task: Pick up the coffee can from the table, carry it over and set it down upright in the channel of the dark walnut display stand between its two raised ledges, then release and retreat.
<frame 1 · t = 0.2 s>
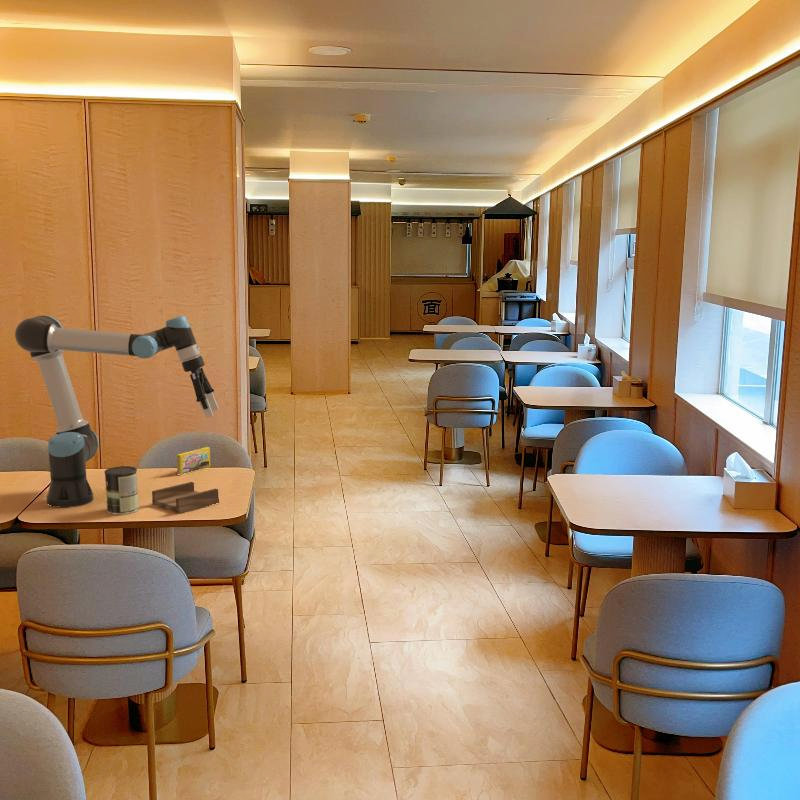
hand: (212, 413, 325), 28 cm above the table, tool tilted 20°, fingers open, 13 cm apart
coffee can: (123, 511, 303), on the table
candy box: (194, 471, 356), on the table
display stand: (185, 504, 309), on the table
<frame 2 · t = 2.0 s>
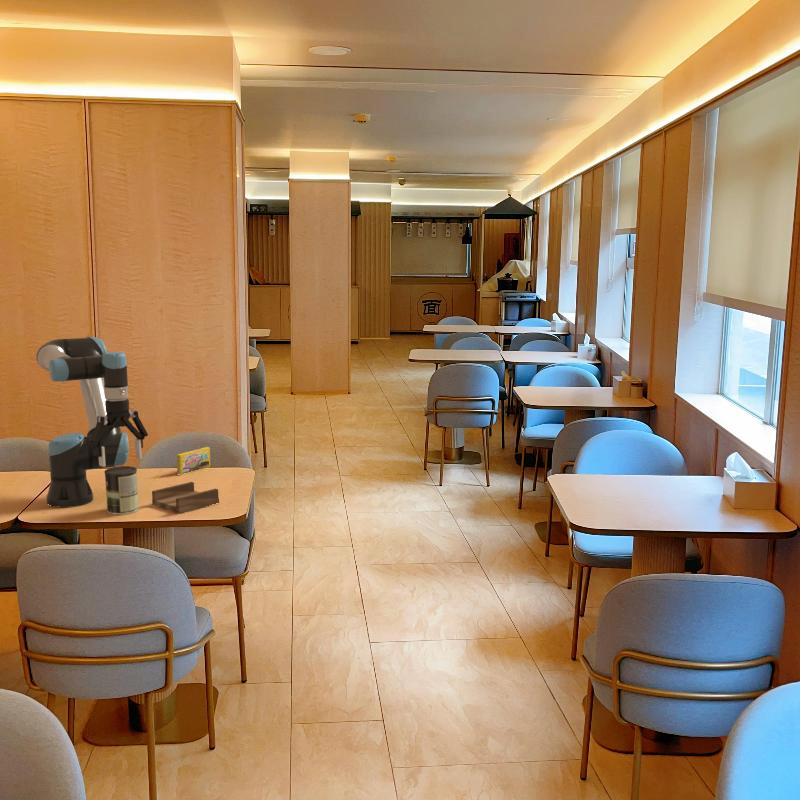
hand: (120, 462, 300), 17 cm above the table, tool pointing down, fingers open, 13 cm apart
nothing on the table moved.
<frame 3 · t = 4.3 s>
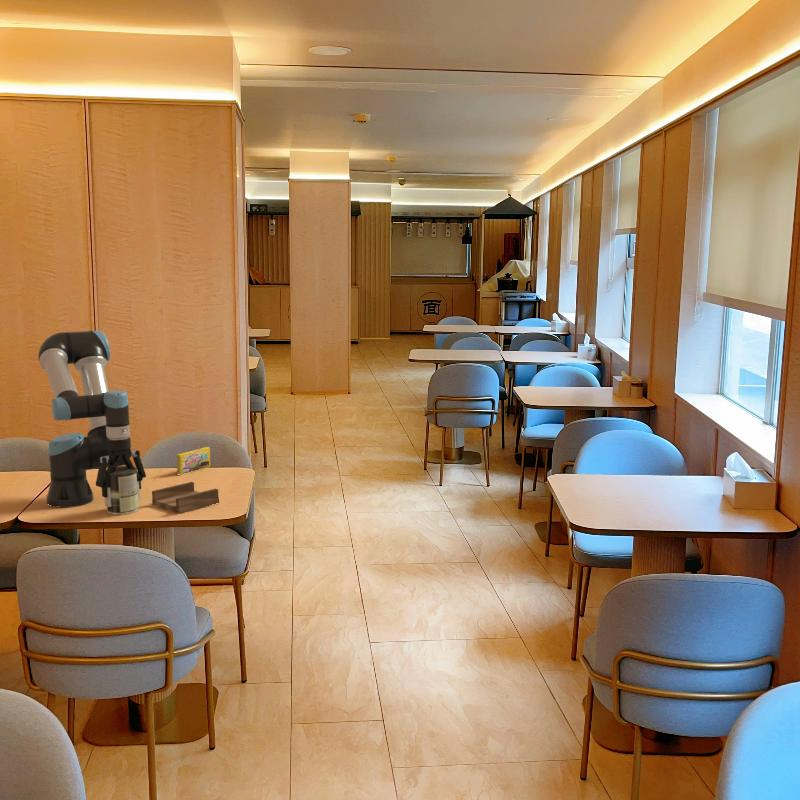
hand: (122, 502, 302), 3 cm above the table, tool pointing down, fingers closed on coffee can, 10 cm apart
coffee can: (123, 511, 303), on the table, touching gripper
everything else where it was.
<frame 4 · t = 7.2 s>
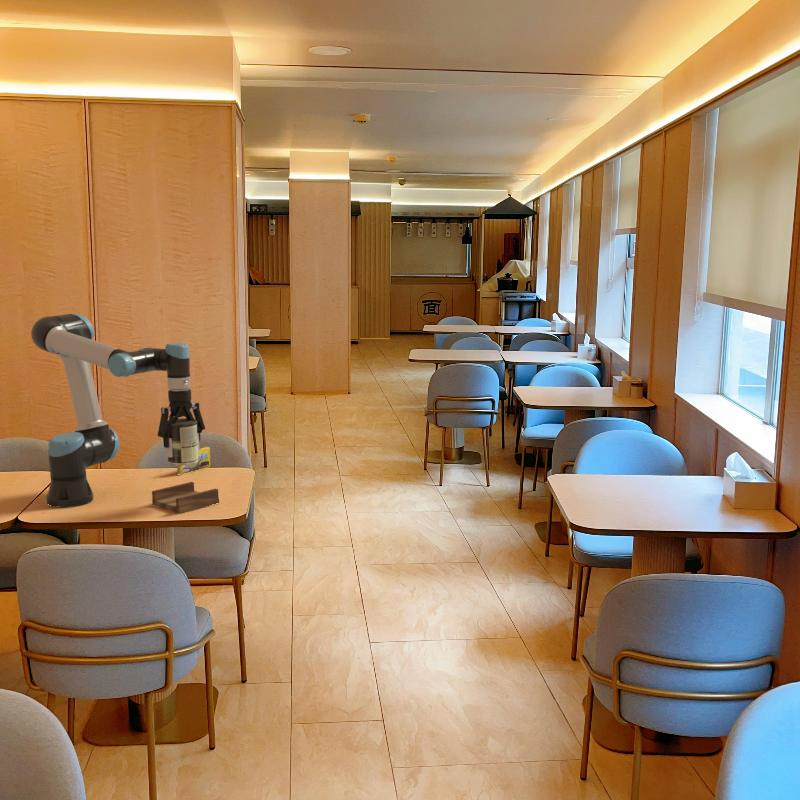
hand: (182, 453, 306), 18 cm above the table, tool pointing down, fingers closed on coffee can, 10 cm apart
coffee can: (183, 462, 307), point 15 cm above the table, touching gripper
everything else where it was.
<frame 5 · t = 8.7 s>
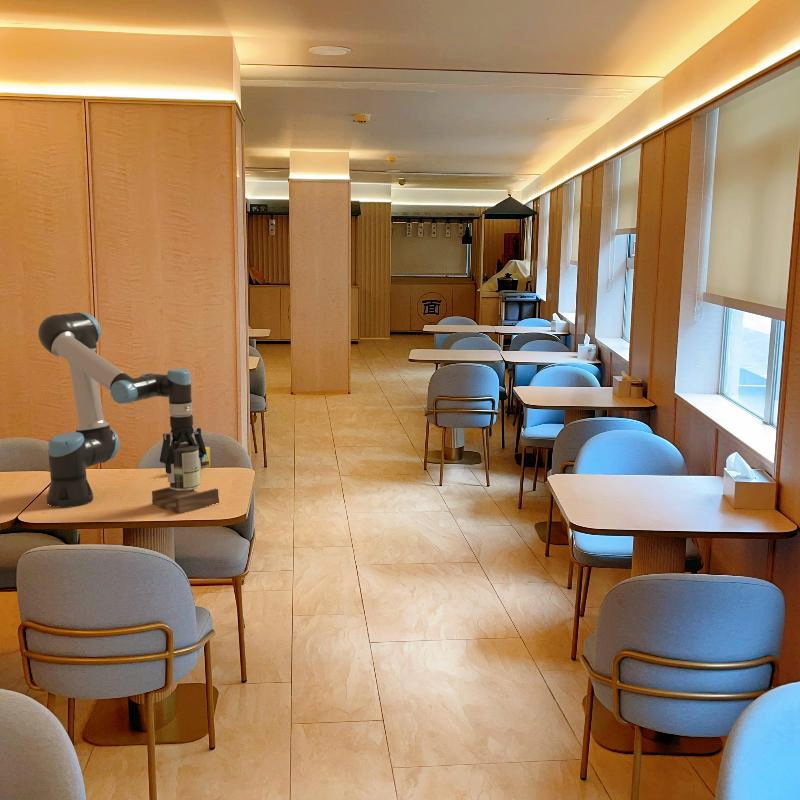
hand: (184, 479, 308), 9 cm above the table, tool pointing down, fingers closed on coffee can, 10 cm apart
coffee can: (185, 487, 308), point 6 cm above the table, touching gripper
everything else where it was.
when the fingers open (6 cm above the table, at t = 10.2 s): coffee can drops 1 cm, resting on display stand.
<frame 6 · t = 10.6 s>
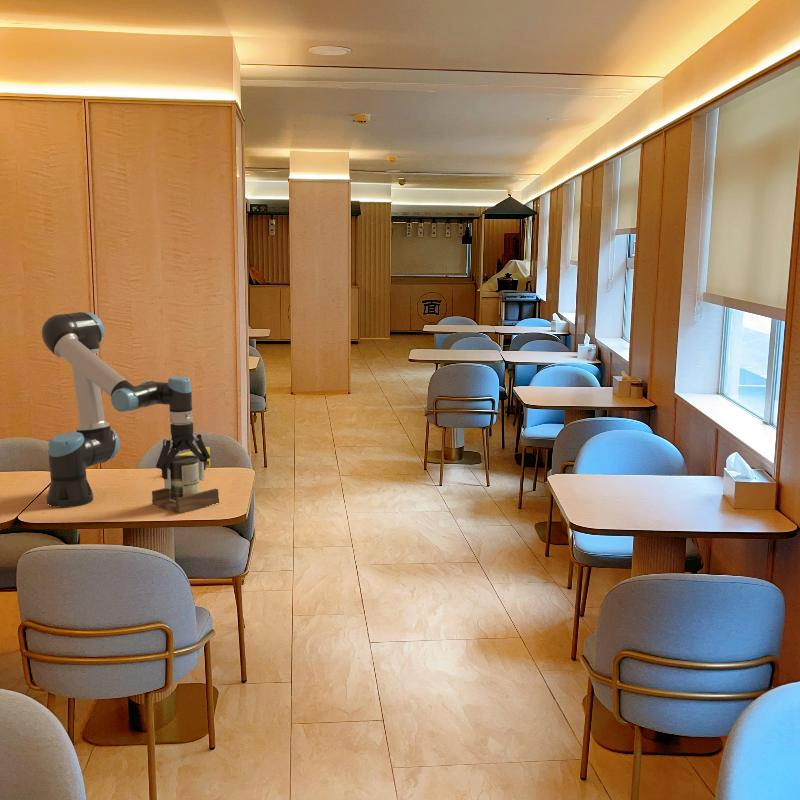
hand: (184, 484, 308), 7 cm above the table, tool pointing down, fingers open, 13 cm apart
coffee can: (185, 499, 309), point 2 cm above the table, touching display stand
everything else where it was.
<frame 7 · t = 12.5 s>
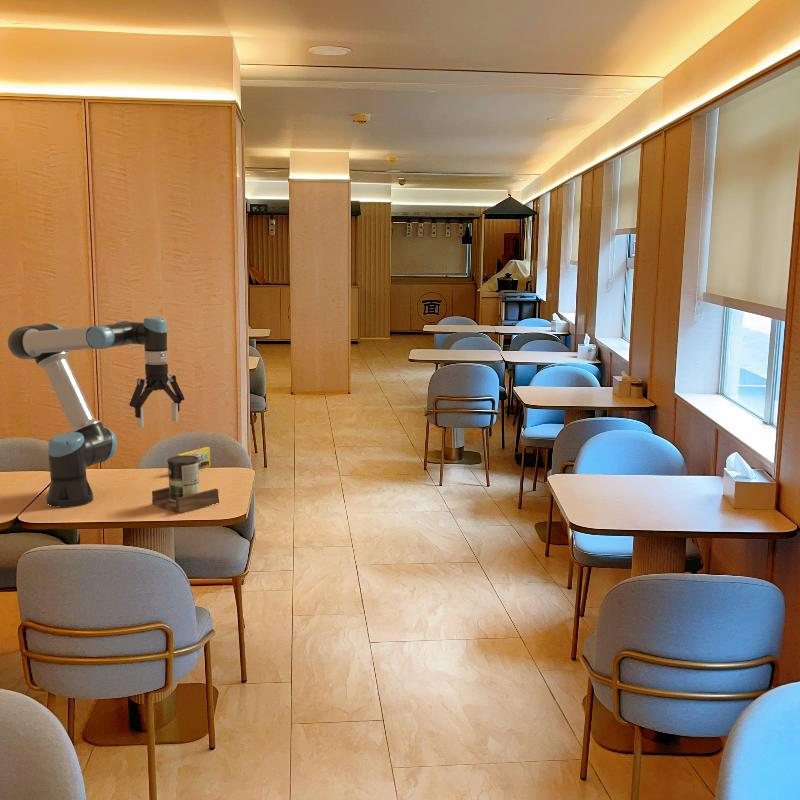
hand: (158, 424, 311), 27 cm above the table, tool pointing down, fingers open, 13 cm apart
nothing on the table moved.
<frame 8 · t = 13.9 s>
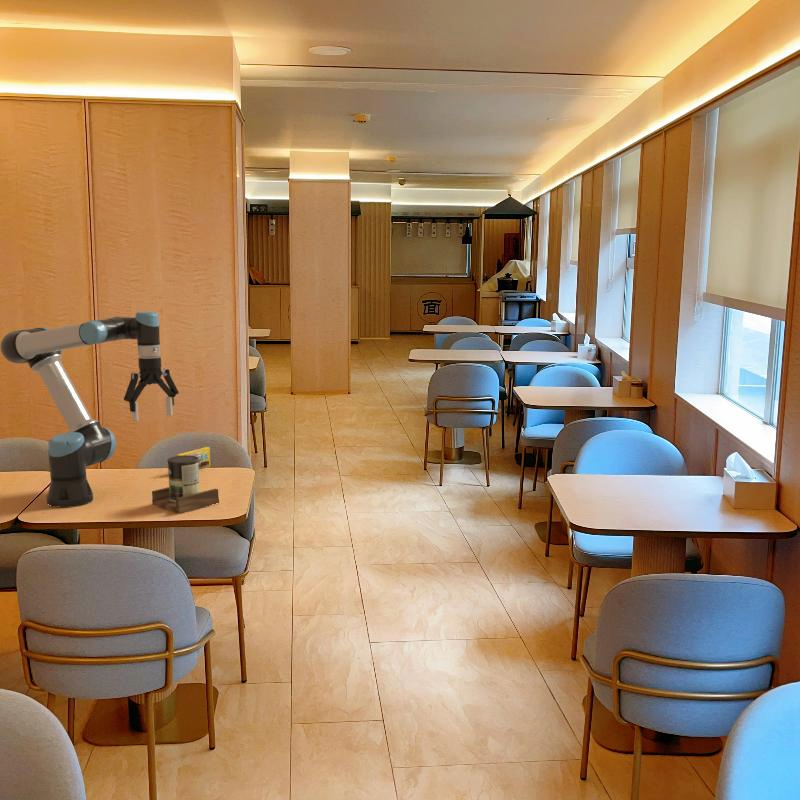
hand: (153, 418, 312), 29 cm above the table, tool pointing down, fingers open, 13 cm apart
nothing on the table moved.
at the end: coffee can inside the target area on the display stand (0.3 cm from its centre), point 1.8 cm above the display stand's base; coffee can tilted 0°; the gripper is holding nothing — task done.
